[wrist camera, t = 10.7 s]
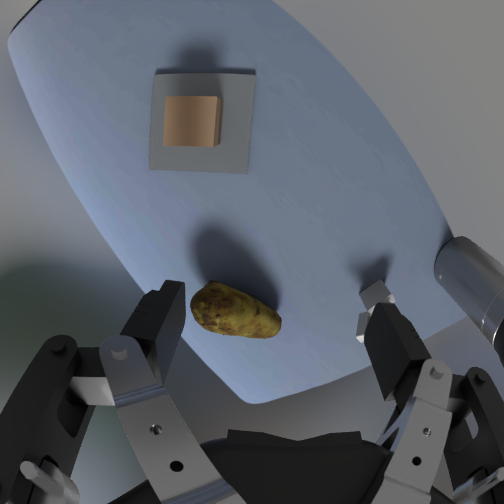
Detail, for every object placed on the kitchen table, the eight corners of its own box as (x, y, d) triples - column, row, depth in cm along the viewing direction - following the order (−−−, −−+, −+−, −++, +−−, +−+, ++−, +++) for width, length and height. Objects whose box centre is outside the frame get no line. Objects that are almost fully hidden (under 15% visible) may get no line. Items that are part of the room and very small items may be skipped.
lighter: (380, 278, 39) (402, 309, 32) (384, 285, 40) (406, 317, 33) (342, 304, 41) (357, 339, 34) (347, 311, 42) (362, 346, 35)
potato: (241, 338, 44) (240, 376, 37) (188, 282, 40) (175, 316, 32) (286, 315, 42) (292, 352, 35) (234, 251, 38) (230, 282, 30)
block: (223, 101, 29) (217, 96, 23) (220, 143, 31) (213, 147, 26) (181, 101, 29) (165, 96, 23) (178, 142, 31) (162, 145, 25)
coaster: (256, 76, 28) (256, 75, 28) (247, 173, 33) (247, 174, 33) (156, 75, 28) (154, 74, 27) (151, 168, 33) (149, 169, 32)
